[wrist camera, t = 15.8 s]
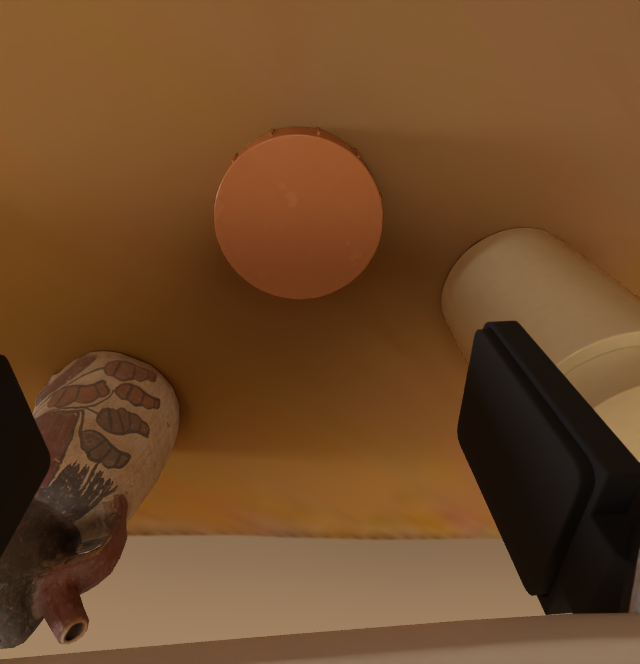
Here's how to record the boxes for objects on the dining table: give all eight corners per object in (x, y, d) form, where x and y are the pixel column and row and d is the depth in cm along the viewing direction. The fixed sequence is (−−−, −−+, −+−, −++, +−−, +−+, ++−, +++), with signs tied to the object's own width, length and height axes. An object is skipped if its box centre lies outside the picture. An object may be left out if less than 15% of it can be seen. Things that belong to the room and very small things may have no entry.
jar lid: (379, 123, 19) (387, 131, 17) (374, 277, 22) (379, 296, 21) (209, 129, 18) (200, 137, 17) (231, 284, 22) (225, 303, 20)
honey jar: (473, 368, 25) (571, 548, 16) (417, 276, 22) (499, 435, 13) (593, 307, 23) (778, 470, 14) (550, 198, 20) (749, 319, 11)
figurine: (39, 341, 23) (-163, 573, 13) (185, 358, 24) (101, 588, 14) (56, 444, 27) (-93, 688, 17) (181, 456, 28) (113, 694, 18)
